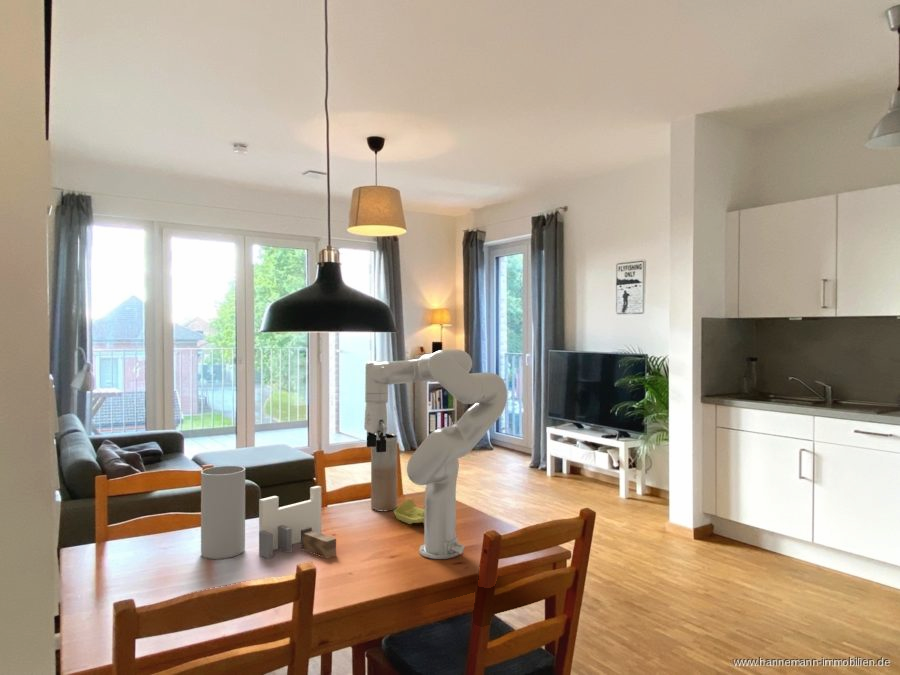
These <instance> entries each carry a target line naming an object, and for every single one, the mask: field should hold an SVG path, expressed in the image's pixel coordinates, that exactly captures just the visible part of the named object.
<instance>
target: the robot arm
mask: <svg viewBox="0 0 900 675" xmlns="http://www.w3.org/2000/svg"><path fill="white" fill-rule="evenodd" d="M472 367H473V359H472V356H470V354H469V353H467V352H466V351H464V350H463V349H439V350H437V351H435V352H432V353H425V354H423V355H422V356H420V358H416V359H409V360H392V361H391V360H389V361H385V360H370V361H367V362H366V364H365V381H364V382H365V384H364V385H365V386H364V387H365V388H364V389H365V398H364V402H365V410H364V412H365V413H364V424H363V425H364V430H365V431H366V447H367V448H371V447H375V446H376V452H386V439H387V438H386V435H387V434H388V433H387V432H388V414H387V413H388V411H387V404H388V402H389V386H391V385H400V384H401V385H402V384H411V383H418V382H437V383H438V384H439V385H440V386H441V387H442V388H444V389H445V390H446V391H447V392H448V393H449V394H450V395H451V396H452V397H453V398H454V399H456V400H457V401H459V402H461V404H466V405H472V404H473V405H472V406H470V407H469V408H468V409H467V410H465V412H463V414H462V415H461V417H460V418H459V419H458V420H457V421H456V422H455V423H454V424H452V425H448V426H445V427H439V428H437V429H435V430H433V431H432V432H430V433H429V435H427V436H426V438H424V439H423V441H422V442H421V444H420V445H419V446H418V447H417V449H416V450H415V451H414V452H413V454H411V456H410V458H409V459H408V462H407V465H406V474H407V477H408V479H409V480H410V481H411V482H412V483H413V484H415V485H417V486H425V490H424V501H423V502H424V508H423V509H424V524H423V526H424V529H423V530H424V533H423V534H424V536H423V537H424V540H423V542H424V543H423V544H421V545H420V546H419V551H418V552H419V554H420V555H421V556H422V557H425V558H429V559H432V560H434V559H435V560H447V559H451V558H454V557H457V556H459V555H462V554H463V551H464V549H465V545H464V544H460V543H459V537H456V534H457V533H456V531H457V530H456V527H457V526H456V523H457V522H456V519H457V518H456V514H457V513H456V498H457V495H456V494H457V479H458V474H459V466H460V465H459V464H460V462H459V458H462V457H465V456H468V455H469V453H470V452H472V450H473V449H474V448H475V447H476V445H477V444H478V443H479V442H480V441H481V440H482V438H483V437H484V436H485V435H486V433H487V432H488V431H489V430H490V429H491V427H493V426H494V424H495V423H496V422H497V421H498V419H500V417H501V416H502V414H503V412H504V411H505V408H506V405H507V402H508V390H507V385H506V383H505V381H504V379H503V378H502V377H501V376H500V375H498V374H496V373H493V372H473V373H470V371H471V369H472ZM379 434H380V436H379ZM376 435H377V439H378V440H376Z"/></svg>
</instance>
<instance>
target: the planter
mask: <svg viewBox="0 0 900 675" xmlns="http://www.w3.org/2000/svg"><path fill="white" fill-rule="evenodd" d="M375 435H376V434H375ZM379 436H380V434H379ZM386 438H387V439H386V452H376V446H375V447H370V449H371V450H370V455H371V456H370V460H371V461H370V473H371V474H370V475H371V476H370V479H371V480H370V486H371V487H370V505H371V506H370V507H371V509H372V510H373V509H375V510H383V511H382V512H385V511H384V510H391V511H394V510H395V508H397V507H398V436H397V434H393V433H387V435H386ZM376 440H378V439H377V435H376ZM393 509H394V510H393ZM375 510H374V511H375Z"/></svg>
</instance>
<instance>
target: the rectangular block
mask: <svg viewBox="0 0 900 675" xmlns="http://www.w3.org/2000/svg"><path fill="white" fill-rule="evenodd" d="M300 550H303V551H306V552H308V553H311V552H312V553H311V554H313V553H315V554H314V555H316V554H317V555H316V556H318V555H320V556H319V557H321V556H322V557H321V558H323V557H324V559H326V558H327V559H330V558H333V557H335V555H336V556H337V538H335V537H332V536H329V535H326V534H324V533H322V532H321V533H318V532H315V531H313V530H312V528H311V527H309V528H306V529H302V530H301V542H300ZM332 556H333V557H332Z"/></svg>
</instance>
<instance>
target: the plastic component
mask: <svg viewBox="0 0 900 675" xmlns="http://www.w3.org/2000/svg"><path fill="white" fill-rule="evenodd" d="M393 513H394V515H395V518H396V519H397V520H398V519H399V520H398V521H400V520H401V522H403V523H406V524H408V525H413V524H414V523H415V524H419V523H422V525H424V508H420V507H418V506H417V505H416V503H415V502H414V500H413V499H411V498H408V499H406V500H405V501H404V502H403V503H402V504H400V505H398V506H397V508H396V509H394V510H393Z"/></svg>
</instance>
